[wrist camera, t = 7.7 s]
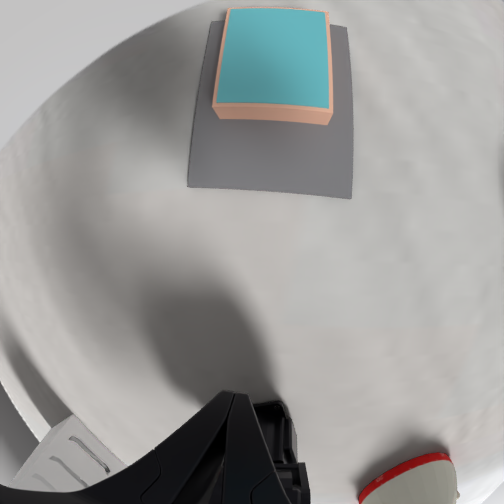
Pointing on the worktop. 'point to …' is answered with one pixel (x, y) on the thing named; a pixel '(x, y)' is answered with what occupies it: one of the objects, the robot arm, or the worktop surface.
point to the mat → (274, 138)
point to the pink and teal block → (275, 66)
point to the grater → (66, 461)
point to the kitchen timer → (415, 483)
